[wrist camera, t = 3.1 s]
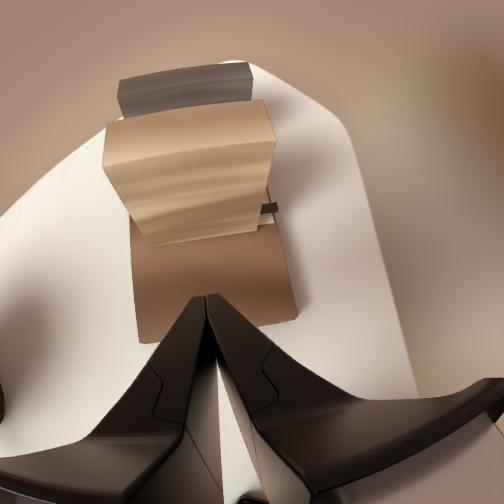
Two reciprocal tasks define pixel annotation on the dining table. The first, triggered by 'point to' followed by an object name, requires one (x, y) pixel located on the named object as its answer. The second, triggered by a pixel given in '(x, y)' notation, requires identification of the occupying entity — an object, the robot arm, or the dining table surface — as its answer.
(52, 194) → the dining table surface
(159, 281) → the gauge track
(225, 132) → the pad
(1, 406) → the coffee mug
